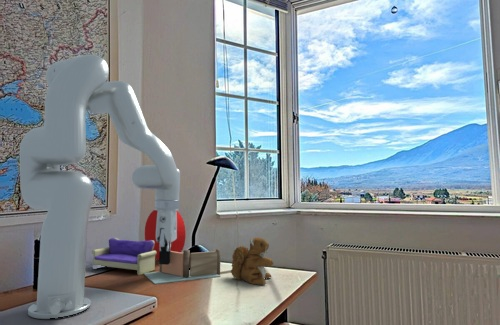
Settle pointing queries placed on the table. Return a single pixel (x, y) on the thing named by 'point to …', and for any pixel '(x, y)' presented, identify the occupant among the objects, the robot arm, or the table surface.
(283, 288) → the table surface
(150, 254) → the toy sofa
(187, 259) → the fixed panel
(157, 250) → the red thick disc
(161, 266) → the panel
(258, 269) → the stuffed squirrel
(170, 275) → the mat
